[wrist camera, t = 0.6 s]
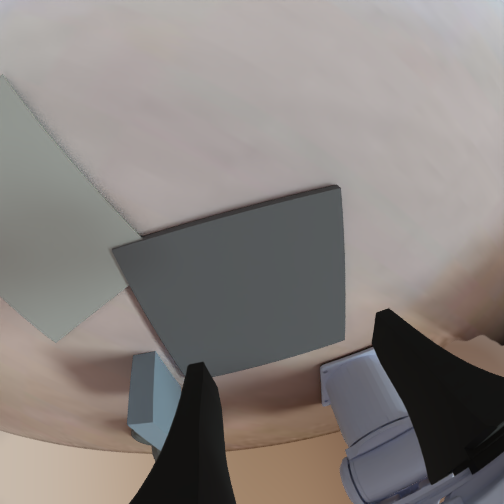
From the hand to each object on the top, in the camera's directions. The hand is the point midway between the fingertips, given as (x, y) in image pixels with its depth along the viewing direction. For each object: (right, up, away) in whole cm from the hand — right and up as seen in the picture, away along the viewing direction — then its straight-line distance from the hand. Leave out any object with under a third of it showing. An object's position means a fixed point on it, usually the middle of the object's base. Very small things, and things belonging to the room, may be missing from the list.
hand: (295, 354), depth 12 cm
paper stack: (-24, +6, +4) cm, 25 cm away
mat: (-2, 0, +11) cm, 11 cm away
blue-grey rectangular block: (-10, -7, +14) cm, 19 cm away
